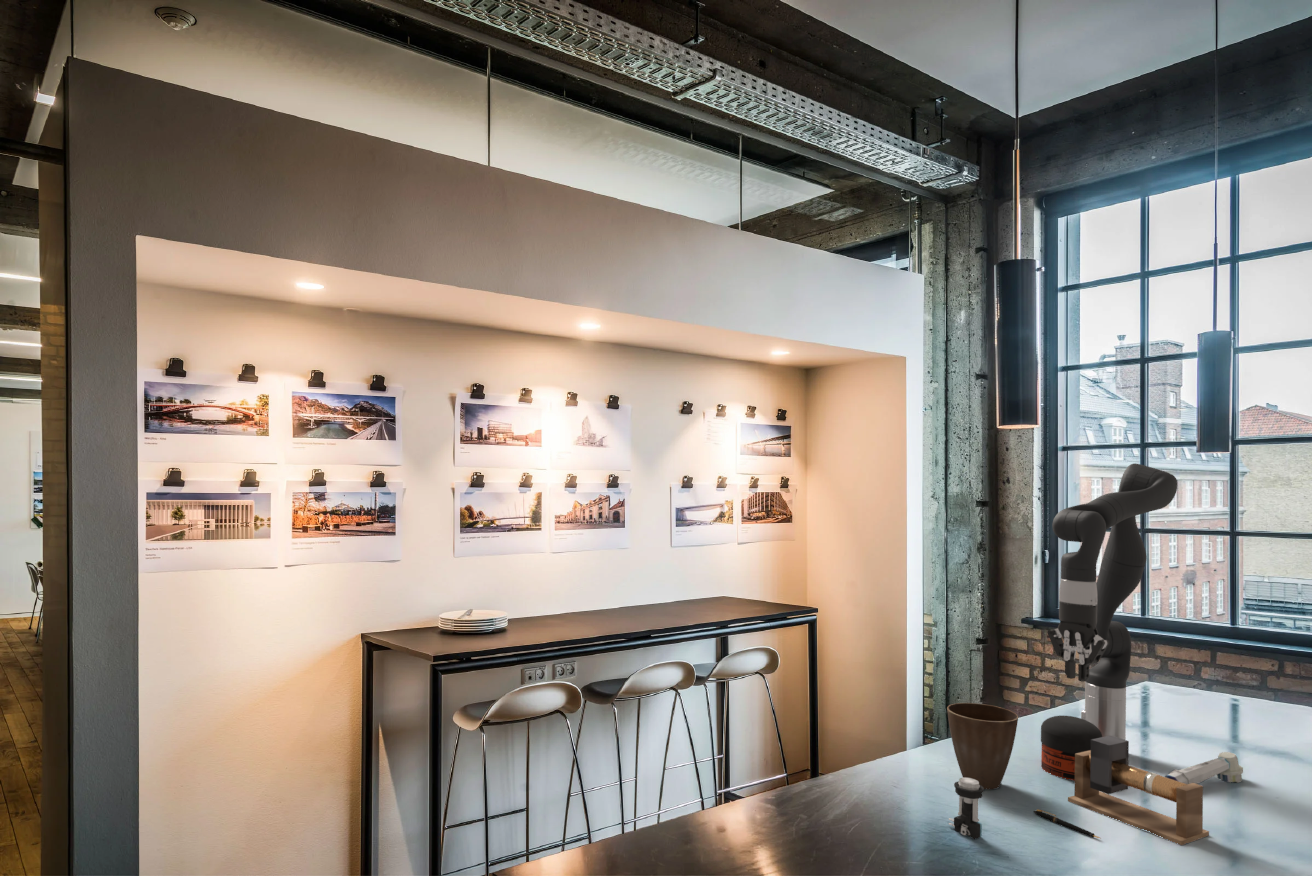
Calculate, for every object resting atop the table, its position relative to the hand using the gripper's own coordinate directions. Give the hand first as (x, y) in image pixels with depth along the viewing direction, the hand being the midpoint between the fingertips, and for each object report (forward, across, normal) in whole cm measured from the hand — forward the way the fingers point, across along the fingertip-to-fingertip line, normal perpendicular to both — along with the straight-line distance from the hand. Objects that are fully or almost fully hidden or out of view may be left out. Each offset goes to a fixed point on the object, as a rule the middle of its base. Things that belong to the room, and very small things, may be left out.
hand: (1076, 679), depth 179 cm
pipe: (+19, +13, 0) cm, 23 cm away
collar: (+21, +7, 0) cm, 22 cm away
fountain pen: (+25, +10, -18) cm, 32 cm away
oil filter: (+25, -10, +13) cm, 30 cm away
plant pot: (+25, -14, -14) cm, 32 cm away
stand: (+25, +13, 0) cm, 28 cm away
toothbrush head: (+26, +9, +35) cm, 44 cm away
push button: (+25, +2, -39) cm, 47 cm away
